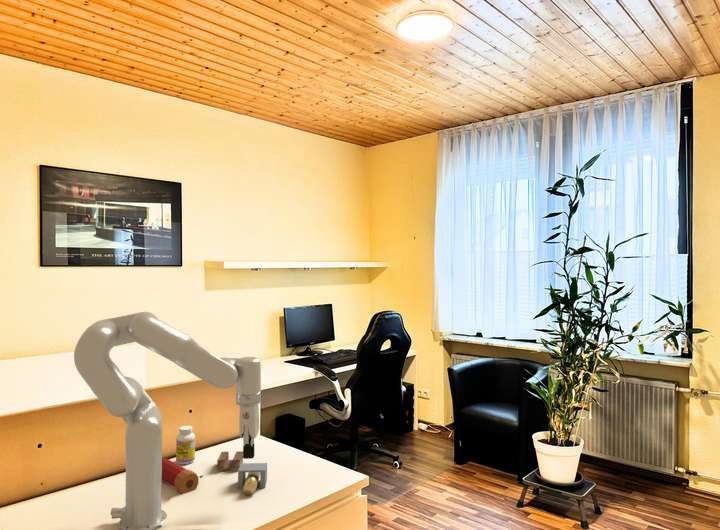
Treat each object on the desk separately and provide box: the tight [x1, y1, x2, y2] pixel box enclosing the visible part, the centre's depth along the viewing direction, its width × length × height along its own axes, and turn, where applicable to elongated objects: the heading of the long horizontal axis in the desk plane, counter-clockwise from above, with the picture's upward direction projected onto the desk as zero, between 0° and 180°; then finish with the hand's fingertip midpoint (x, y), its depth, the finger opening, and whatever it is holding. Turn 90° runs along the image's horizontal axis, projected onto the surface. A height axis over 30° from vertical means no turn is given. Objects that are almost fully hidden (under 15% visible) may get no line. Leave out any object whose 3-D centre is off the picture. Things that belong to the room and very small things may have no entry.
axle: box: [242, 472, 260, 497], centre depth 168 cm, size 14×4×4 cm, turn 4°
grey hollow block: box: [237, 462, 268, 489], centre depth 169 cm, size 6×9×7 cm
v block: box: [216, 450, 244, 473], centre depth 184 cm, size 8×8×5 cm
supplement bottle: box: [175, 425, 196, 465], centre depth 190 cm, size 7×7×13 cm
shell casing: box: [162, 457, 200, 495], centre depth 170 cm, size 7×20×7 cm, turn 46°
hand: (248, 457), depth 156 cm, fingers closed
